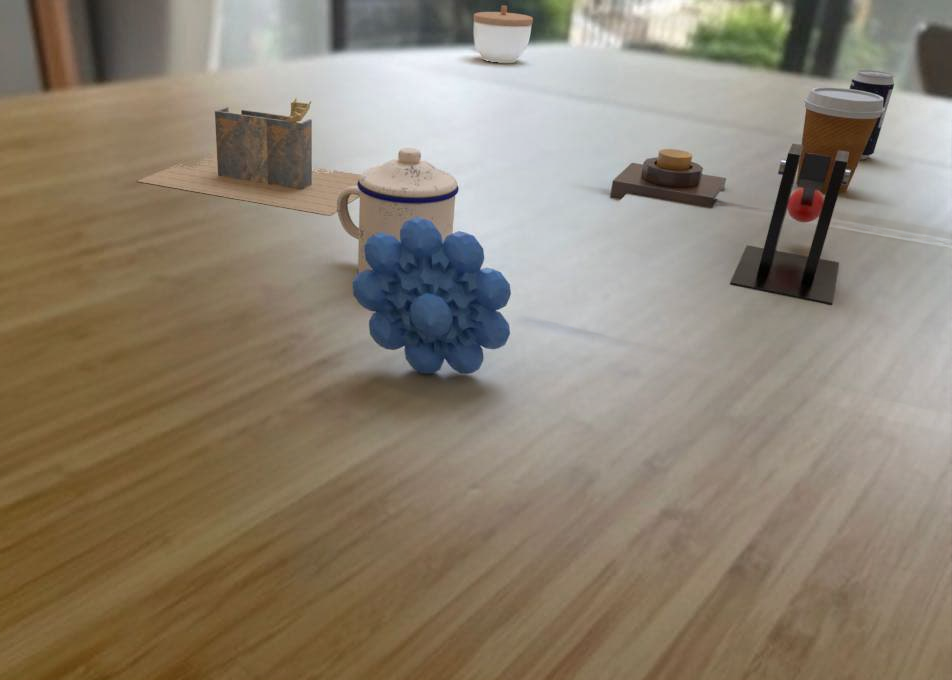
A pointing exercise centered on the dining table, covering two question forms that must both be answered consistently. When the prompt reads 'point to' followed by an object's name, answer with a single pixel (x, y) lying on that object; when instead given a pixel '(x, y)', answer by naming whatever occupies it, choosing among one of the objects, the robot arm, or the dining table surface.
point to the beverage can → (877, 85)
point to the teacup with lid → (399, 199)
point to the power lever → (809, 189)
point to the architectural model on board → (263, 163)
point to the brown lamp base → (668, 183)
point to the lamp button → (674, 159)
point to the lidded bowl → (501, 35)
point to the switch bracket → (792, 270)
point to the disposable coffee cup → (839, 125)
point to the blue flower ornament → (433, 297)
